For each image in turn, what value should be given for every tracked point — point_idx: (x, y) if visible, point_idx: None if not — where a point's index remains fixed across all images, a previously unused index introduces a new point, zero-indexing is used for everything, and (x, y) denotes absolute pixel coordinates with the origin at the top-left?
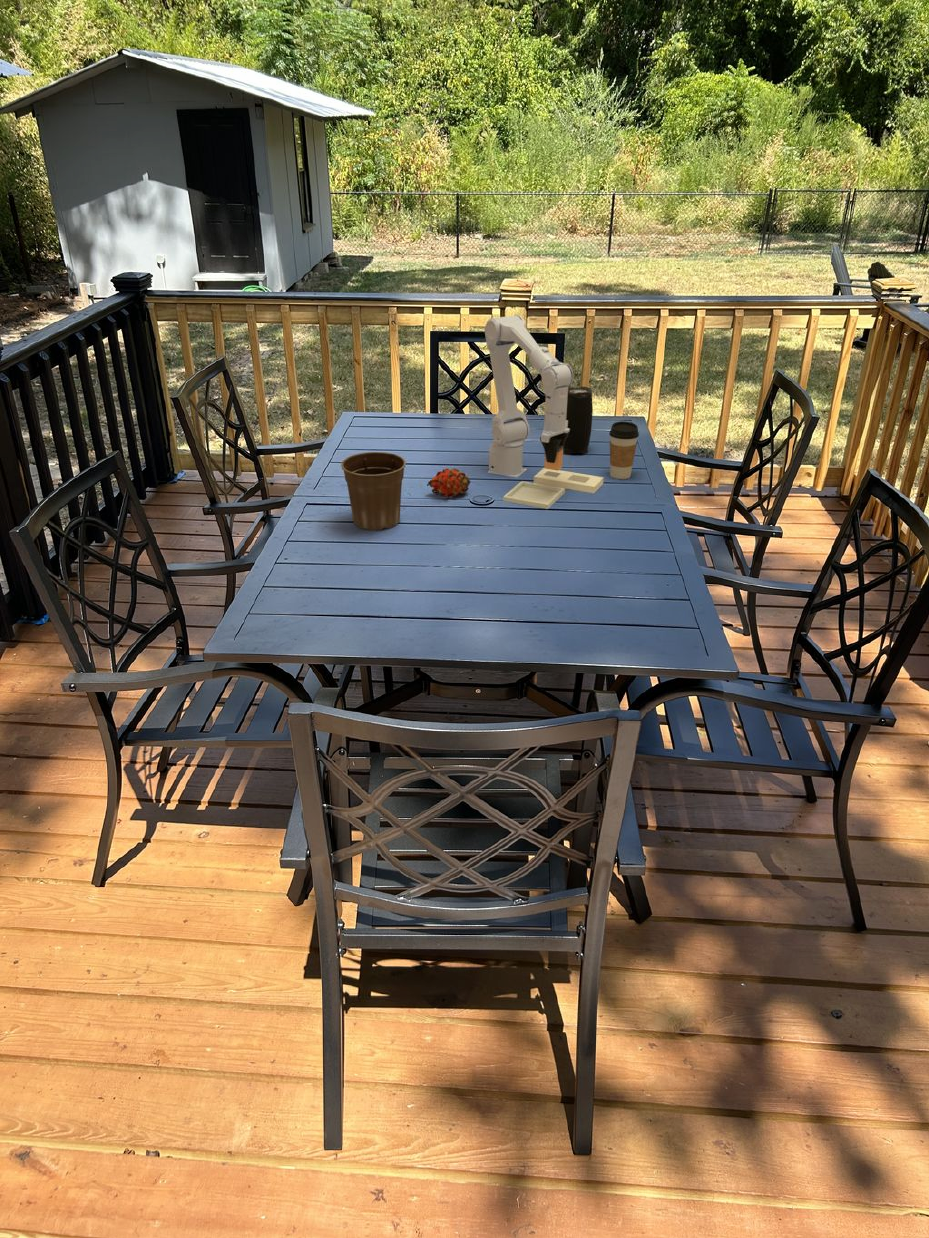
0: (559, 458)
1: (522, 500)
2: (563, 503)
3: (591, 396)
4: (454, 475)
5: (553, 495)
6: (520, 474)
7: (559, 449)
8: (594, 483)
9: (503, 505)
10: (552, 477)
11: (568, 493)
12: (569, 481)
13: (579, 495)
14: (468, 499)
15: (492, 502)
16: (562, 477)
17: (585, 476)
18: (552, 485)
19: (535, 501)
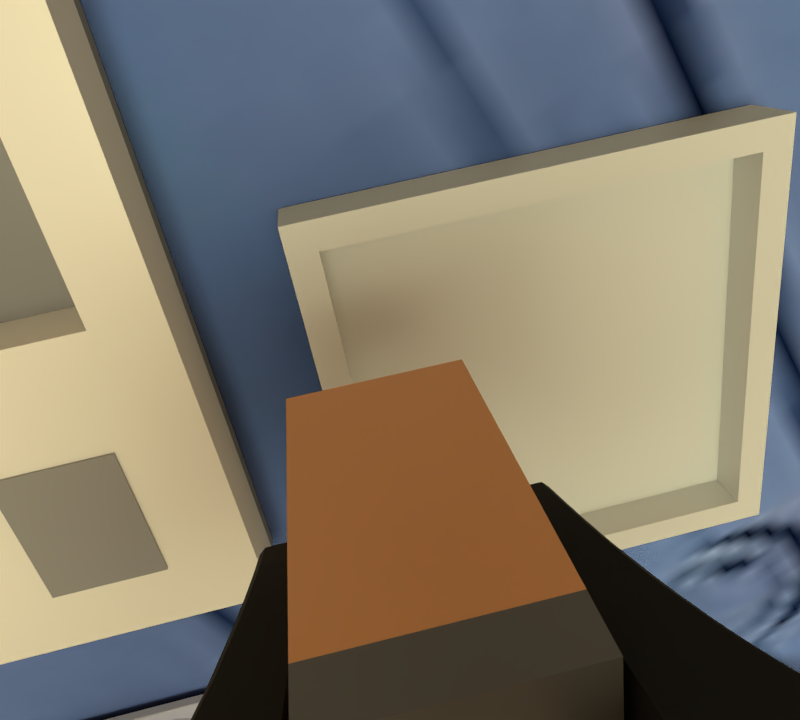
0: (478, 485)
1: (771, 367)
2: (494, 82)
3: None
4: None
5: (421, 261)
6: (189, 705)
7: (596, 658)
8: None
9: (767, 453)
10: (158, 477)
11: (218, 195)
12: (108, 279)
13: (178, 56)
14: (755, 646)
15: (744, 532)
16: (71, 406)
17: None
18: (217, 406)
19: (759, 264)
